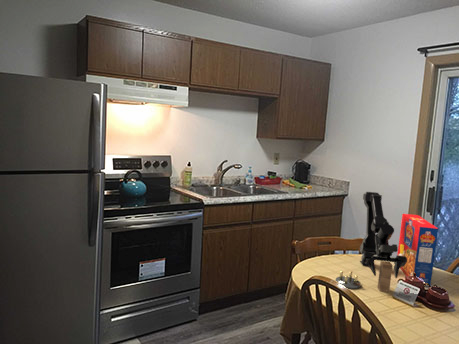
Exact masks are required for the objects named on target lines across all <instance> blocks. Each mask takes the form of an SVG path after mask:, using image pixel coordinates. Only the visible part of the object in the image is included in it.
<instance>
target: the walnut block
mask: <svg viewBox="0 0 459 344" xmlns="http://www.w3.org/2000/svg"><path fill="white" fill-rule="evenodd" d="M392 273H393V264H392V262H388V261H380V264H379V272H378V279H377V280H378V281H377V289H378V291H379V292H384V293H390V289H391V280H392V278H391V277H392Z"/></svg>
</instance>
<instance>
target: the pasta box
mask: <svg viewBox="0 0 459 344" xmlns="http://www.w3.org/2000/svg"><path fill="white" fill-rule="evenodd" d="M401 216H402V217H401V223H400V232H399V238H398V245H397V247H398V251H397V254H396V256H397V255H399V256H405V257H406V258H407V263H406V264H405V265H404V266H403V267H401V268H399V270H400V271H402V272H403V274H404V275H405V276H406V277H407V276H413V272H415V273H416V276H417V277H419V278H422V279H423V280H424V282H425V283H428V284H429V285H430V286H431V285H432V284H431V283H432V277H433V270H434V263H435V256H436V247H437V240H438V233H439V228H438V227H436V225H434V224H432V223H431V222H430V221H428V220H426V219H425V218H423V217H421V215H419V214H410V213H409V214H408V213H402V215H401Z"/></svg>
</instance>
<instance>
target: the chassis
mask: <svg viewBox="0 0 459 344" xmlns="http://www.w3.org/2000/svg"><path fill="white" fill-rule="evenodd" d="M343 274H344V271H340V272H339V276H337V277H336V278H335V281H337V282H338V283H340V284H342V285H344V286H345V287H347V288H346V289H349V290H350V289H351V290H356V289H360V288H361V281H359V280H358V278H359V276H358V275H354V278H353V271H351V270H350V271H349V275H345V276H343Z"/></svg>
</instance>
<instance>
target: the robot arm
mask: <svg viewBox="0 0 459 344" xmlns="http://www.w3.org/2000/svg"><path fill="white" fill-rule="evenodd" d="M382 196H383V195H381V194H379V192H375V191H373V192H372V191H366V192H365V193H363V195H362V199H363V204H364V206H365V207H366V229H365V231H366V234H365V236H364V238H363V239H362V243H361V244H360V246H359V252H360V253H361V255H362V256H361V258H360V259H361V260H360V261H359V262H360V264H361V265H362V267H369V269H370V271H371V272H372V274H373V276H374V277H376V276H377V271H376V265H375V261H380V262H381V261H384V262H390V263H393V264H394V266H393V271H394V278H395V279H397V278H398V277H399V276H398V275H399V271H400V268H401V267H403V266H404V265H405V264H406V263H407V258H406V257H405V256H399V255H397V254H396V256H395V257H392V255H393V254H394V253H398V244H389V240H390V239H391V237H392V236H393V234H394V233H395V228H394V227H393V226H392V225H391V224H390V223H389V221H388V220H387V218H385V216H384V210H383V205H382Z"/></svg>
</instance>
